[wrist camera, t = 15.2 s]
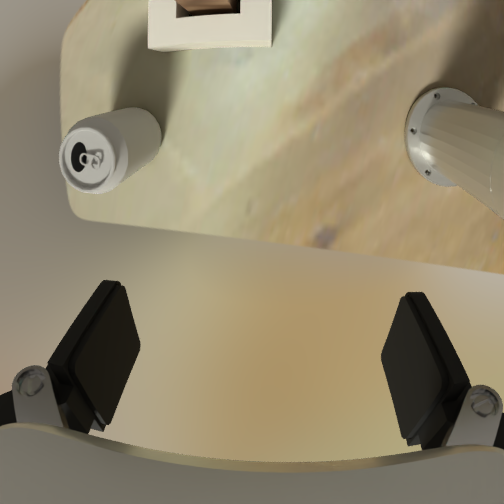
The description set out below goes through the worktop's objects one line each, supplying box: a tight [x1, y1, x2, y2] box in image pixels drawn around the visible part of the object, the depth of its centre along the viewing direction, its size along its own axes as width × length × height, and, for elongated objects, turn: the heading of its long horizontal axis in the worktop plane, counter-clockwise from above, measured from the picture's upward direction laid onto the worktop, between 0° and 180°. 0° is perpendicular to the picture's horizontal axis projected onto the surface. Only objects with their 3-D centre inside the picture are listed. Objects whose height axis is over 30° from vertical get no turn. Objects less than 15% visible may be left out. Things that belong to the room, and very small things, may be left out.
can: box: [59, 107, 162, 194], centre depth 30 cm, size 8×8×12 cm
